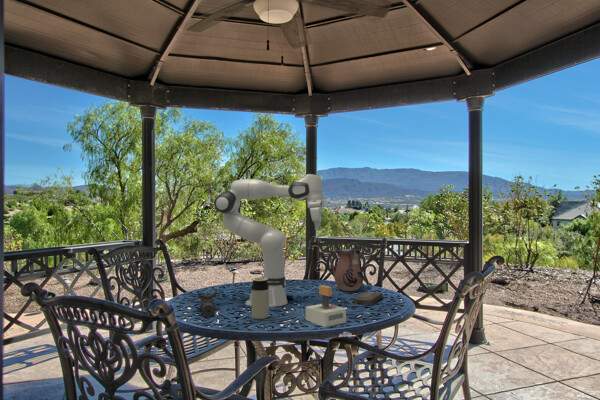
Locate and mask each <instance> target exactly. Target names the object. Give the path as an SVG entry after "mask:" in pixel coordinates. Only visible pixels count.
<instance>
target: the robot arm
mask: <svg viewBox="0 0 600 400" xmlns="http://www.w3.org/2000/svg"><path fill="white" fill-rule="evenodd" d="M323 190H324V188H323V181H322V178H321V176H320V175H318V174H316V173H307V174H306V175H304V176H303V177H302V178H300V179H297V180H296V181H294V182H291V183H290V184H289V185H279V184H273V183H270V182H268V181H265V180H262V179H255V178H243V179H242V178H241V179H238V180H237V179H235V180H234V181H232V183H231V185H230V190H226V191H224V192H222V193H219V194H218V196H216V197H215V198H214V201H213V205H214V208H215V210H216V211H217V212H219V213H221V214H223V215H224V217H223V219H222V225H223V227H224V228H225V229H226V230H228V231H229V232H231V233H232V234H234V235H236V236H239V237H240V238H242V239H245V240H247V241H249V242H250V243H255V244H258V245H261V251H262V257H263V276H262V277H265V278H268V280H267V283H268V285H269V308H275V307H282V306H285V305H287V304H288V303H289V302H288V299H287V293H286V285H287V282H286V281H287V280H286V276H285V274H286V273H285V269H286V268H285V266H286V265H285V264H286V263H285V259H284V251H283V248H284V247H285V246H286V243H287V237H286V234H285V233H284V232H283V231H282V230H279V229H276V228H275V227H272V226H269V225H266V224H264V223H261V222H258V221H256V220H254V219H252V218H249V217H247V216H244V215H242V214H241V208H242V200H261V199H266V198H267V199H268V198H272V197H273V198H275V197H279V198H280V197H282V198H283V197H284V198H292V199H294V200H296V201H300V202H303V201H305V200H306V204H307V205H306V206H307V208H308V209H309V212H310V218H311V221H312V223H313V224H314V228H315V229H314V231H320V230H321V222H322V210H323V207H325V203H324V202H325V200H324V195H323ZM249 294H250V296H249V299H247V300H246V301H245V303H244V304H245V306H247V307H248V306H249V307H252V291H251V292H250V293H249Z"/></svg>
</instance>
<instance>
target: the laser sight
mask: <svg viewBox="0 0 600 400" xmlns="http://www.w3.org/2000/svg"><path fill="white" fill-rule="evenodd" d="M196 291H197V298H199V299H200V309H201V310H200V311H201V312H202V316H204V317H205V318H211V317H213V315H214V314H215V313H216V312H215V302H214V299H213V298H216V296H217V292H218V289H217V288H215V291H214V292H213V293H211V294H202V293H200V291H199V289H197V290H196Z"/></svg>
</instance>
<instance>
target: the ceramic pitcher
mask: <svg viewBox="0 0 600 400" xmlns="http://www.w3.org/2000/svg"><path fill="white" fill-rule="evenodd" d="M335 253H336V254H337V255H338V258H339V259H338V261H337V263H336V266H334V265H335V264H334V263H333V260H332V255H333V254H335ZM328 262H329V264H330V266H331V268H332V271H333V273H332V275H333V278H334V281H335V282H334V283H335V285H336V286H337V288H338V289H340V291H343V292H354V291H355V292H356V291H358V290H359V289H360V288H361V287H362V285H363V283H364V273H363V268H362V264H361V261H360V249H354V248H347V249H346V248H345V249H343V248H342V249H333V250H331V251H330V252H329V254H328Z"/></svg>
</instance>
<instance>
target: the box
mask: <svg viewBox="0 0 600 400" xmlns="http://www.w3.org/2000/svg"><path fill="white" fill-rule="evenodd" d="M383 294H384V293H383V292H374V291H373V292H371V291H364V292H362V293H361V294H359V295H357V296H355V297H354V298H353V299H352V300H353V304H358V305H359V304H360V305H365V306H373V305H374V304H375V303H377V302H379V300H381V299H383Z"/></svg>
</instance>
